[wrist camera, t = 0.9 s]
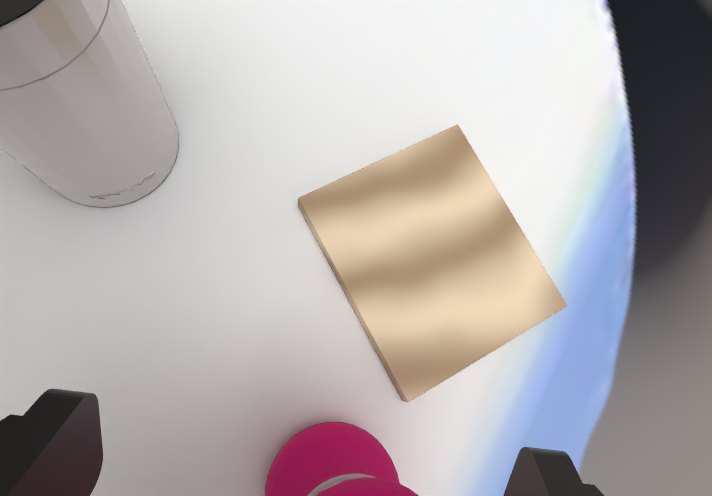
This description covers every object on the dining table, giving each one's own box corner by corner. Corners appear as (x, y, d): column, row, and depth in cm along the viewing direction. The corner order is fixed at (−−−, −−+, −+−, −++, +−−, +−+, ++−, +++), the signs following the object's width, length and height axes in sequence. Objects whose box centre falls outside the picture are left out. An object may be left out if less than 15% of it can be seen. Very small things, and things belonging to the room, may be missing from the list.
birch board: (297, 205, 35) (298, 198, 33) (451, 133, 38) (457, 124, 36) (402, 400, 32) (408, 402, 31) (556, 308, 35) (567, 306, 34)
